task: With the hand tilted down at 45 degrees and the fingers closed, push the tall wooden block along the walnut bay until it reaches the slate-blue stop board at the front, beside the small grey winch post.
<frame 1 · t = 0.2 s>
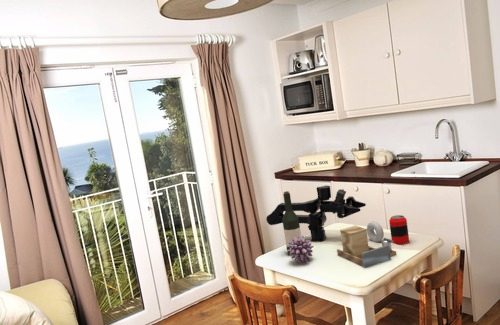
hand: (363, 207, 202), 17 cm above the table, tool horizontal, fingers open, 9 cm apart
donut: (376, 242, 200), on the table
soda can: (400, 242, 195), on the table
wine bottle: (295, 252, 204), on the table
bay: (356, 255, 187), on the table
winch post: (388, 256, 181), on the table
purple spiky ball: (302, 262, 190), on the table
tall wooden block: (354, 241, 186), point 6 cm above the table, slide at 0.0 cm
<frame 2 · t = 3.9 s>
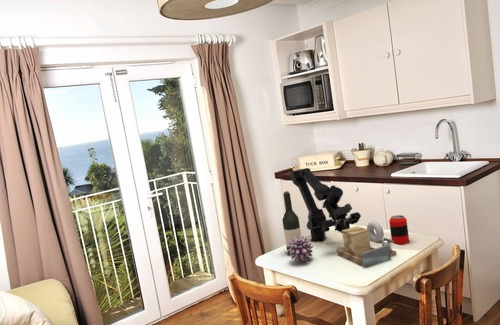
hand: (350, 237, 189), 8 cm above the table, tool tilted 45°, fingers closed, pressing on tall wooden block
tall wooden block: (356, 242, 185), point 6 cm above the table, slide at 1.4 cm, touching gripper
everything else where it was.
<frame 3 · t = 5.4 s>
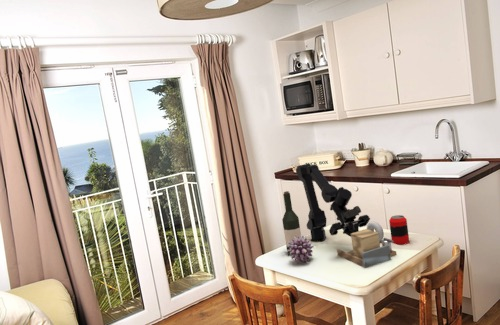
hand: (359, 240, 182), 8 cm above the table, tool tilted 45°, fingers closed, pressing on tall wooden block
tall wooden block: (366, 246, 179), point 6 cm above the table, slide at 8.0 cm, touching gripper
everything else where it was.
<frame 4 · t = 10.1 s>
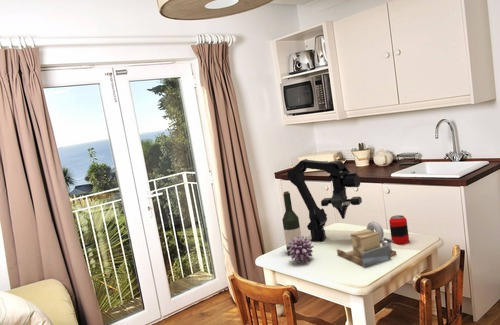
hand: (343, 218, 205), 12 cm above the table, tool pointing down, fingers closed
tall wooden block: (366, 246, 178), point 6 cm above the table, slide at 8.2 cm
everything else where it was.
at the end: tall wooden block slide at 8.2 cm; the gripper is holding nothing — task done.
